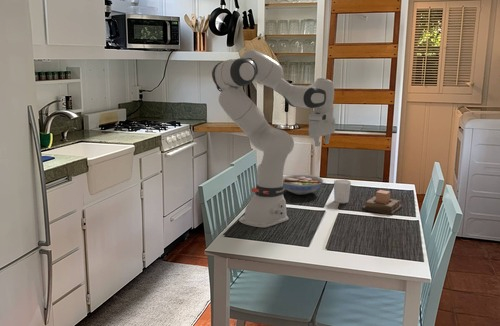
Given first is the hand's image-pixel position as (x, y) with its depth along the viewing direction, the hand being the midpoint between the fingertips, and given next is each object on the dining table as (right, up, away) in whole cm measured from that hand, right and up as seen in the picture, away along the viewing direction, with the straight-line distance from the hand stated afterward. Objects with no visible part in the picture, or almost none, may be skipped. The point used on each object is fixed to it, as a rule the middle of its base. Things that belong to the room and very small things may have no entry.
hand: (321, 144), depth 219 cm
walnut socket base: (+28, -29, +2) cm, 41 cm away
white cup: (+11, -27, +13) cm, 32 cm away
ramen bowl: (-7, -24, +26) cm, 36 cm away
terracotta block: (+28, -29, +2) cm, 40 cm away
